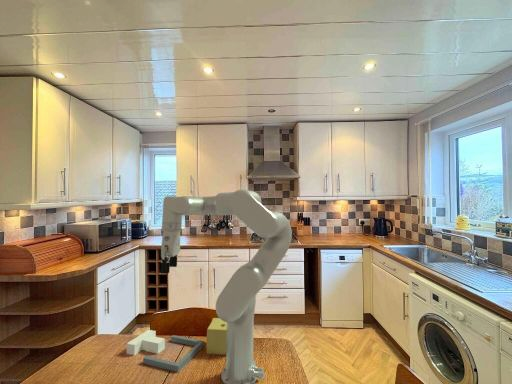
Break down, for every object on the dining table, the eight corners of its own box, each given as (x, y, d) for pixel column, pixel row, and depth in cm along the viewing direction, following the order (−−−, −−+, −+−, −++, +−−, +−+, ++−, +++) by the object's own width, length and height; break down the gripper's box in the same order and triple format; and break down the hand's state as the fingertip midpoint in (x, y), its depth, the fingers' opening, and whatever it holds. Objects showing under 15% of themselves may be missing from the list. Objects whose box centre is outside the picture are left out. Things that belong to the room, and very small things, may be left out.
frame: (203, 345, 105) (204, 341, 106) (178, 372, 88) (178, 366, 88) (173, 339, 110) (173, 335, 110) (143, 363, 93) (143, 357, 93)
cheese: (235, 342, 109) (235, 318, 110) (230, 356, 98) (230, 330, 99) (212, 340, 110) (212, 317, 111) (205, 354, 99) (205, 329, 100)
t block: (170, 343, 107) (171, 334, 107) (150, 359, 96) (151, 348, 96) (148, 338, 111) (148, 329, 111) (126, 353, 99) (126, 343, 100)
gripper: (174, 229, 92) (171, 276, 91) (186, 225, 109) (184, 264, 108) (154, 228, 91) (150, 275, 91) (169, 224, 109) (166, 264, 108)
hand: (169, 269), depth 99 cm, fingers open, 9 cm apart
